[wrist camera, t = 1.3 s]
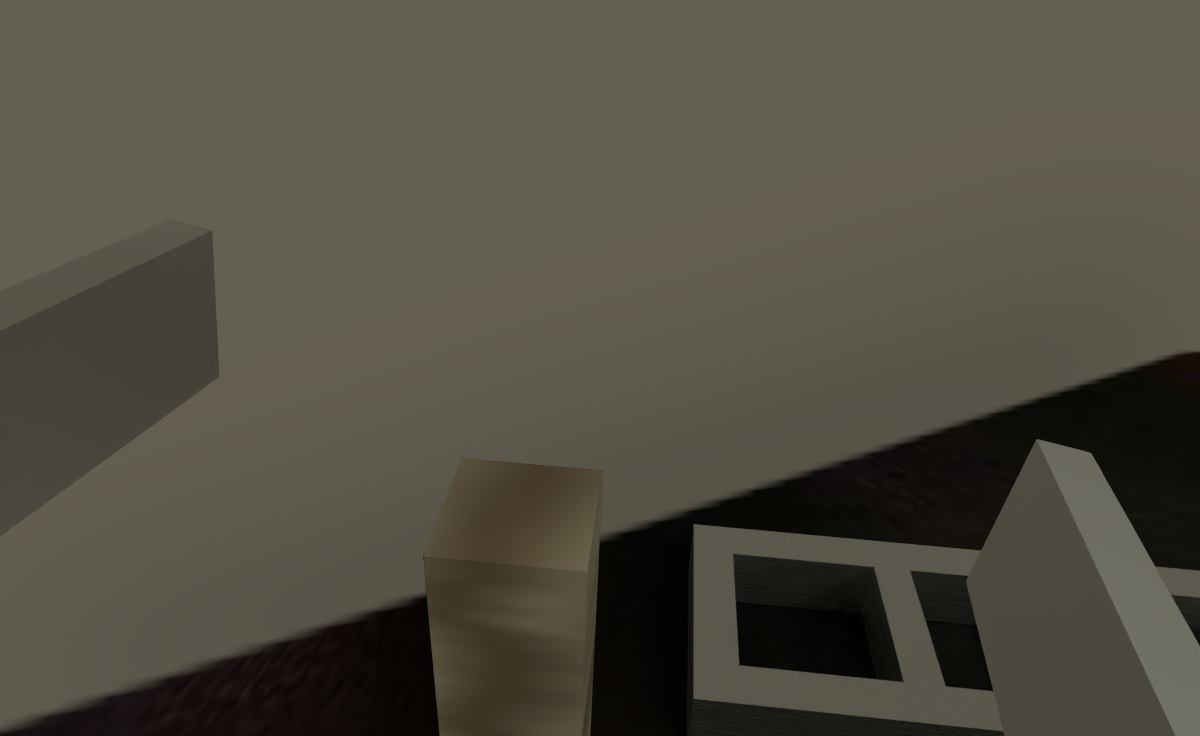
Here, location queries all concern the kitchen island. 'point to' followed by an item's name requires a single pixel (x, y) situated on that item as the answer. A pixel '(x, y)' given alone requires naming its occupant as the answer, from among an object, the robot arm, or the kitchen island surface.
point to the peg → (515, 599)
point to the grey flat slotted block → (852, 585)
